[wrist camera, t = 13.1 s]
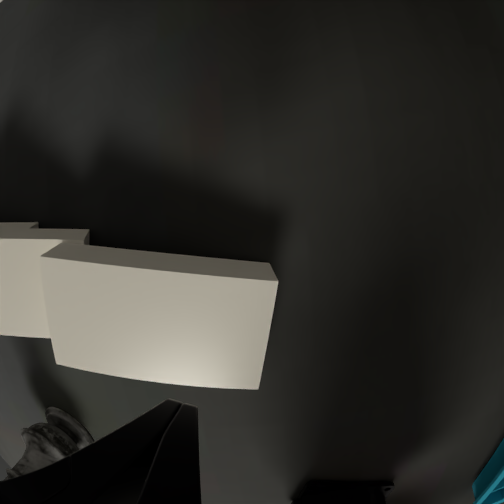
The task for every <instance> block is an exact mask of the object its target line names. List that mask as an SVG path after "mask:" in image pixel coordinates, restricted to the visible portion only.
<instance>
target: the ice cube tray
mask: <svg viewBox="0 0 504 504" xmlns="http://www.w3.org/2000/svg"><path fill="white" fill-rule="evenodd" d="M472 488H473V492H474V496H475V500H476V501H475V502H474V503H473V504H500V503H502V502H504V439H503V440H502V442H501V444H500V445H499V447H498V448H497V450H496V451H495V453H494V454H493V456H492V457H491V459H490V460H489V462H488V463H487V465H486V466H485V467H484V469H483V470H482V472H481V473H480V474H479V476H478V477H477V478H476V480H475V481H474V483H473V485H472Z"/></svg>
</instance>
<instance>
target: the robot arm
mask: <svg viewBox="0 0 504 504" xmlns="http://www.w3.org/2000/svg"><path fill="white" fill-rule="evenodd" d="M393 489H394V483H393V482H330V481H309V482H307V483H306V485H305V487H304V488H303V490H302V492H301V494H300V495H299V497H298V498H295V499H294V500H293V501H292V503H291V504H386V501H385V498H386V497H387V496H388V495H389V494H390V493H391V492H392V491H393ZM0 504H201V488H200V467H199V439H198V407H197V406H195V405H191V404H187V403H183V404H182V402H180V401H176V400H173V399H166V400H164V401H163V402H161V403H160V404H158V405H156V406H155V407H153V408H152V409H150V410H148V411H147V412H145V413H143V414H142V415H140V416H138V417H137V418H135V419H133V420H132V421H130V422H128V423H126V424H125V425H123V426H121V427H120V428H118V429H116V430H114V431H113V432H111V433H109V434H107V435H105V436H104V437H102V438H100V439H98V440H96V441H95V442H93V443H91V444H89V445H87V446H85V447H84V448H82V449H80V450H78V451H76V452H74V453H72V454H71V456H70V455H68V456H66V457H64V458H62V459H60V460H58V461H56V462H54V463H52V464H50V465H47V466H45V467H43V468H40V469H38V470H35V471H32V472H29V473H27V474H23V475H20V476H17V477H14V478H10V479H7V480H3V481H0Z"/></svg>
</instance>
